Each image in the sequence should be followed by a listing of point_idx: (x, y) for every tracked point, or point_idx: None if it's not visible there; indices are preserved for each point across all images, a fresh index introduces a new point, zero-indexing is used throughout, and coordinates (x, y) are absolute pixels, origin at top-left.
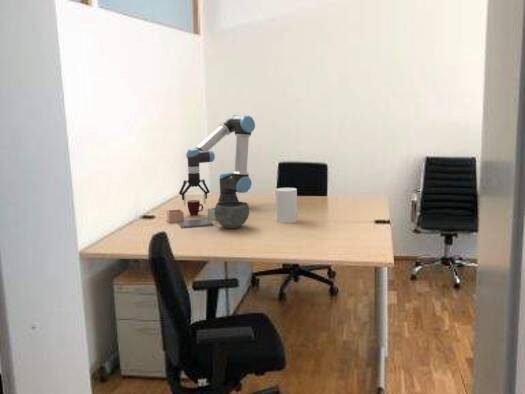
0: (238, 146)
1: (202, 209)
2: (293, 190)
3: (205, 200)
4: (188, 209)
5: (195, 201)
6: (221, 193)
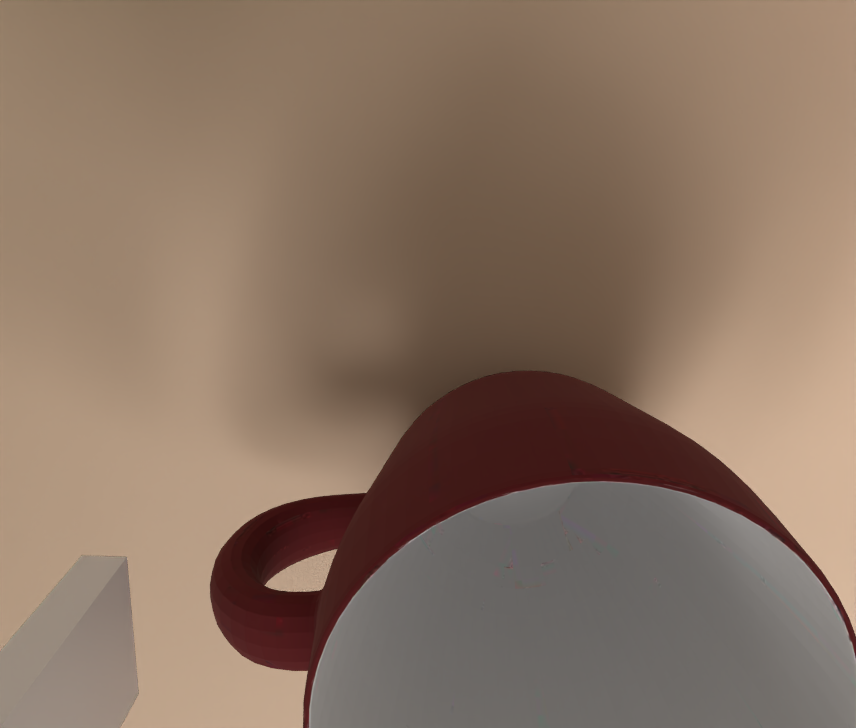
0: None
1: (260, 516)
2: None
3: (17, 642)
4: (698, 562)
5: None
6: None
